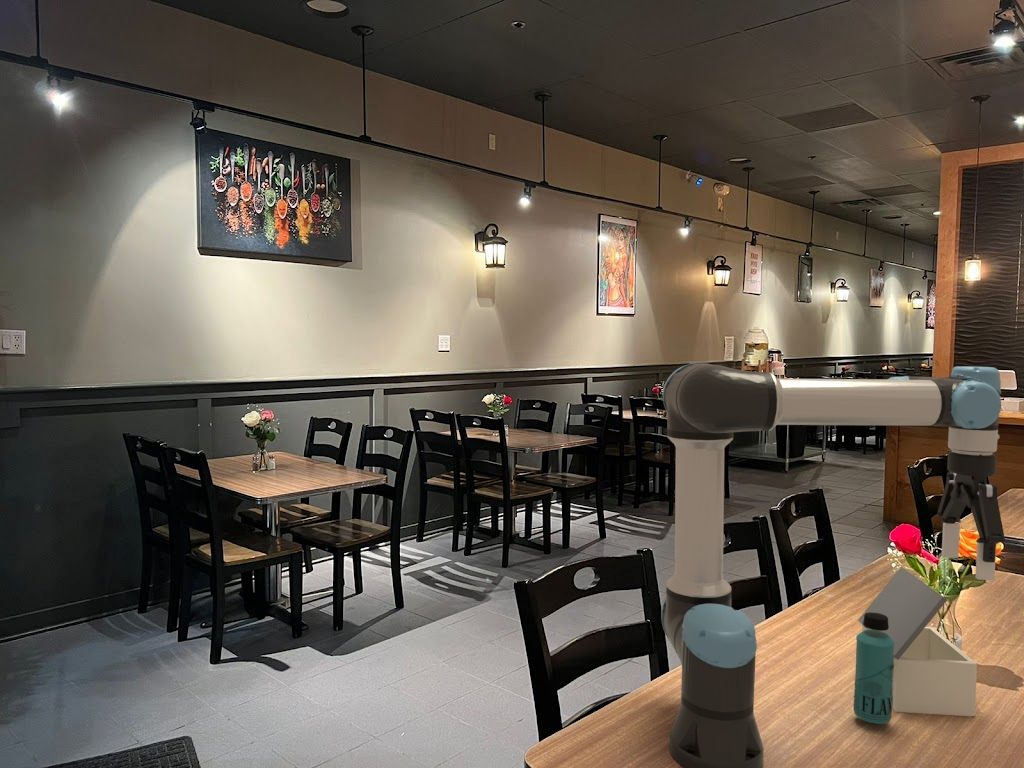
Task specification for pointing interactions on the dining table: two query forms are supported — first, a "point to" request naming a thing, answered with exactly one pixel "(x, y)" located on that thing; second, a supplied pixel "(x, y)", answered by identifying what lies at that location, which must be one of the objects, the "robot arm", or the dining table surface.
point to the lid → (905, 608)
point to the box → (934, 677)
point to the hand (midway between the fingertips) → (966, 567)
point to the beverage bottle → (874, 671)
